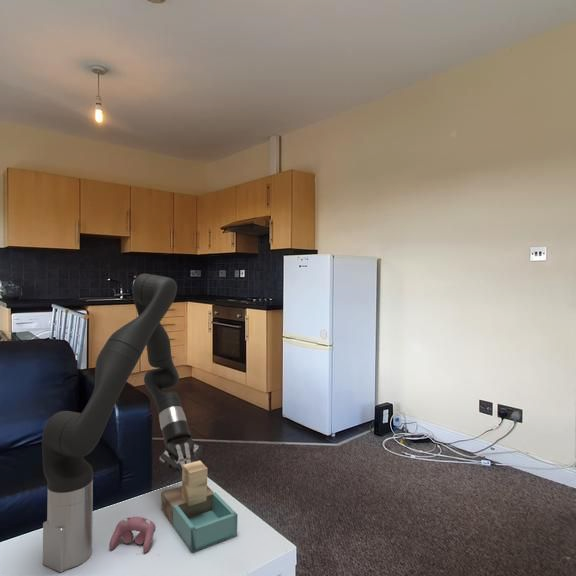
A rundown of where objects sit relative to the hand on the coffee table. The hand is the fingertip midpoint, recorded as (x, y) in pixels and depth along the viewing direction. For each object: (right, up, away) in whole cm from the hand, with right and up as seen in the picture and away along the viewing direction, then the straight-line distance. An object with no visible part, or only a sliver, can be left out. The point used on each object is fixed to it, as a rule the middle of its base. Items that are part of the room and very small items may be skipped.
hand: (189, 483), depth 114 cm
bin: (+6, -8, -8) cm, 13 cm away
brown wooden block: (-1, -8, +1) cm, 8 cm away
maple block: (+2, -3, -2) cm, 4 cm away
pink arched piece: (-10, -9, -14) cm, 19 cm away
